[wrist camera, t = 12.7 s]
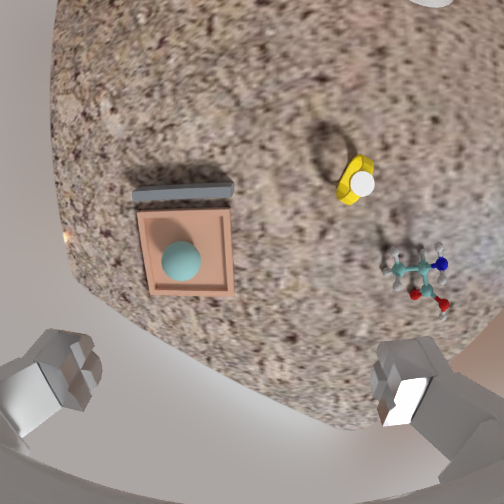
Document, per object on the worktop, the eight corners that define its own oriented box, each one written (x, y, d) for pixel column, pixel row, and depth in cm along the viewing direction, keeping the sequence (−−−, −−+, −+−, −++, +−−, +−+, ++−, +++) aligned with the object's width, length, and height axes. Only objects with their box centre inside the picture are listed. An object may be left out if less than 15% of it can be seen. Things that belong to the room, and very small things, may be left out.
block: (141, 186, 38) (131, 191, 35) (233, 182, 37) (230, 186, 34) (142, 195, 38) (133, 201, 35) (233, 191, 38) (231, 197, 35)
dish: (140, 210, 39) (136, 212, 38) (230, 206, 38) (229, 209, 37) (152, 290, 44) (150, 294, 42) (234, 292, 43) (234, 296, 42)
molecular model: (363, 308, 39) (421, 317, 30) (374, 238, 40) (432, 233, 31) (413, 316, 43) (465, 323, 34) (421, 256, 44) (473, 255, 35)
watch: (348, 149, 35) (364, 151, 29) (367, 161, 35) (386, 164, 30) (327, 192, 37) (339, 201, 31) (346, 202, 37) (361, 213, 32)
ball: (167, 235, 40) (152, 249, 35) (203, 235, 39) (192, 250, 35) (172, 269, 42) (158, 287, 37) (207, 271, 41) (196, 289, 37)
